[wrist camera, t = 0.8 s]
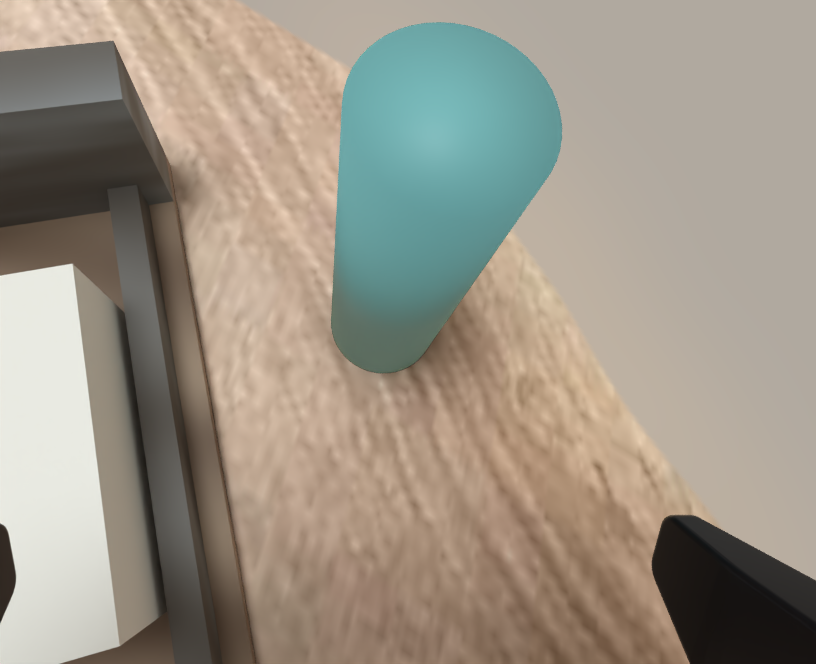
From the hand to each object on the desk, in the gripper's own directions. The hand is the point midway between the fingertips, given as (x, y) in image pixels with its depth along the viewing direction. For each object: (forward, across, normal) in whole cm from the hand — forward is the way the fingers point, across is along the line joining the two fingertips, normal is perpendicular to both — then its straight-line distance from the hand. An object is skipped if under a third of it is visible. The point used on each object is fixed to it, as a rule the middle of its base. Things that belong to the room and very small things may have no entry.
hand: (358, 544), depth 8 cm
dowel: (+15, -2, +2) cm, 15 cm away
